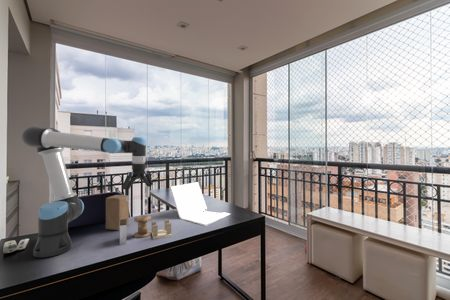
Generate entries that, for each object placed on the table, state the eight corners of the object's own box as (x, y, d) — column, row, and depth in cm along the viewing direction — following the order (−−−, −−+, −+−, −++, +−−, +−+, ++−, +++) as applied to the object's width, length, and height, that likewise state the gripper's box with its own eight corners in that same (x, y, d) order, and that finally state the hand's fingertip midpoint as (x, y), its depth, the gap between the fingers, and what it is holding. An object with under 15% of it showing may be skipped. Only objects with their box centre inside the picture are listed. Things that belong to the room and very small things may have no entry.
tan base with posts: (171, 236, 123) (171, 224, 123) (153, 239, 119) (153, 226, 119) (168, 230, 132) (168, 219, 133) (151, 233, 128) (151, 221, 128)
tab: (119, 245, 112) (119, 224, 112) (120, 238, 120) (120, 219, 120) (126, 243, 113) (126, 223, 113) (126, 237, 122) (126, 218, 122)
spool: (134, 239, 120) (134, 221, 120) (134, 233, 128) (134, 216, 128) (151, 236, 123) (151, 218, 123) (150, 231, 131) (150, 214, 132)
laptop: (205, 227, 139) (205, 191, 140) (169, 217, 160) (169, 186, 160) (231, 215, 164) (231, 185, 164) (197, 208, 184) (197, 181, 184)
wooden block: (119, 230, 132) (119, 198, 132) (104, 229, 134) (105, 197, 134) (129, 225, 142) (129, 195, 142) (116, 224, 144) (116, 194, 144)
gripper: (124, 164, 116) (123, 203, 116) (159, 162, 138) (158, 195, 137) (115, 163, 119) (114, 202, 119) (150, 162, 141) (150, 194, 141)
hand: (138, 198), depth 128 cm, fingers open, 13 cm apart
